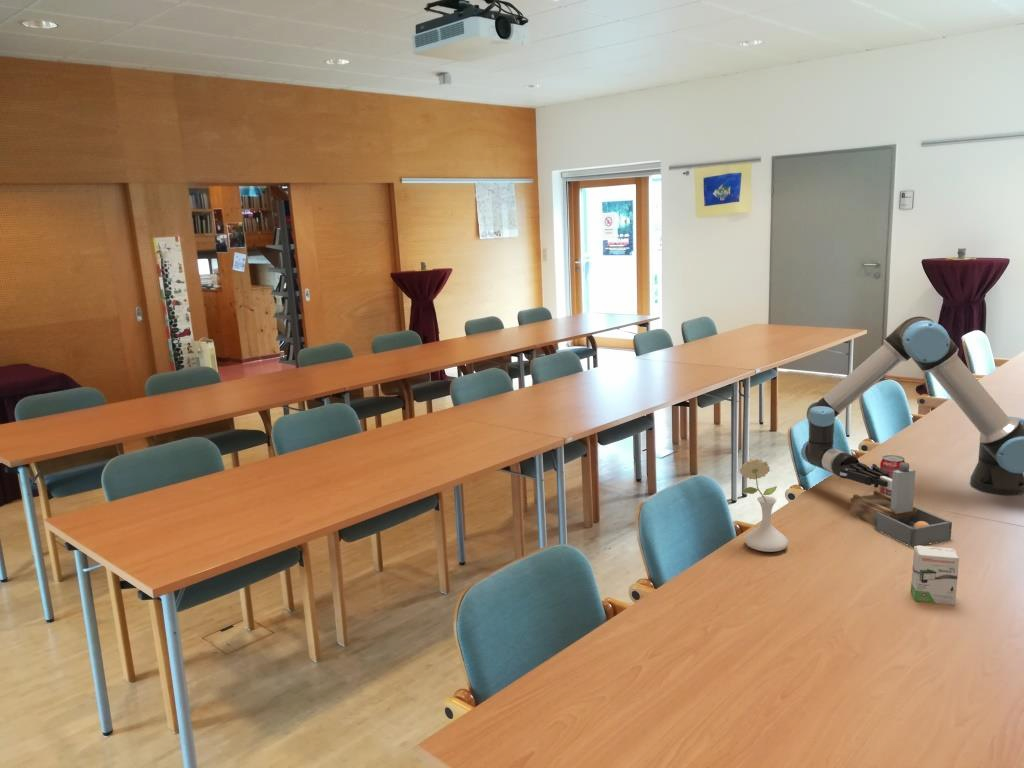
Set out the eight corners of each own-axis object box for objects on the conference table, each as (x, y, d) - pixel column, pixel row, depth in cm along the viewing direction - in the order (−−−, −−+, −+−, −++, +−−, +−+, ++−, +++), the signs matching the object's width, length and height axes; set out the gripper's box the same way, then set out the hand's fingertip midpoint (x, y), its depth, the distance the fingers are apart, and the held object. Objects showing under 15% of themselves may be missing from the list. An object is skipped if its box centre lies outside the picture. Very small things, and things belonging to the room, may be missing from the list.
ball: (927, 533, 209) (929, 519, 208) (932, 540, 205) (934, 525, 204) (910, 532, 210) (911, 518, 209) (914, 539, 206) (916, 524, 205)
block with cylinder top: (889, 511, 214) (892, 463, 211) (906, 508, 215) (909, 461, 212) (896, 514, 211) (899, 466, 209) (913, 511, 213) (916, 463, 210)
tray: (874, 528, 215) (875, 512, 214) (911, 522, 219) (912, 505, 218) (912, 547, 202) (913, 529, 201) (950, 539, 206) (951, 522, 205)
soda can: (907, 501, 234) (909, 461, 231) (882, 501, 235) (884, 461, 233) (900, 493, 241) (902, 454, 238) (876, 493, 242) (878, 454, 239)
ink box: (914, 601, 175) (917, 553, 172) (910, 591, 179) (913, 544, 177) (956, 605, 172) (960, 557, 170) (951, 595, 177) (954, 548, 174)
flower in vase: (790, 541, 210) (792, 455, 205) (785, 558, 200) (788, 468, 195) (741, 535, 215) (742, 451, 210) (734, 551, 205) (736, 463, 200)
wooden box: (850, 514, 227) (850, 495, 225) (877, 509, 229) (878, 490, 228) (887, 532, 213) (888, 512, 211) (916, 527, 215) (917, 507, 214)
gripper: (858, 472, 238) (916, 497, 216) (822, 478, 234) (878, 503, 212) (859, 449, 236) (918, 471, 214) (823, 455, 233) (880, 478, 211)
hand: (898, 487), depth 213 cm, fingers closed
